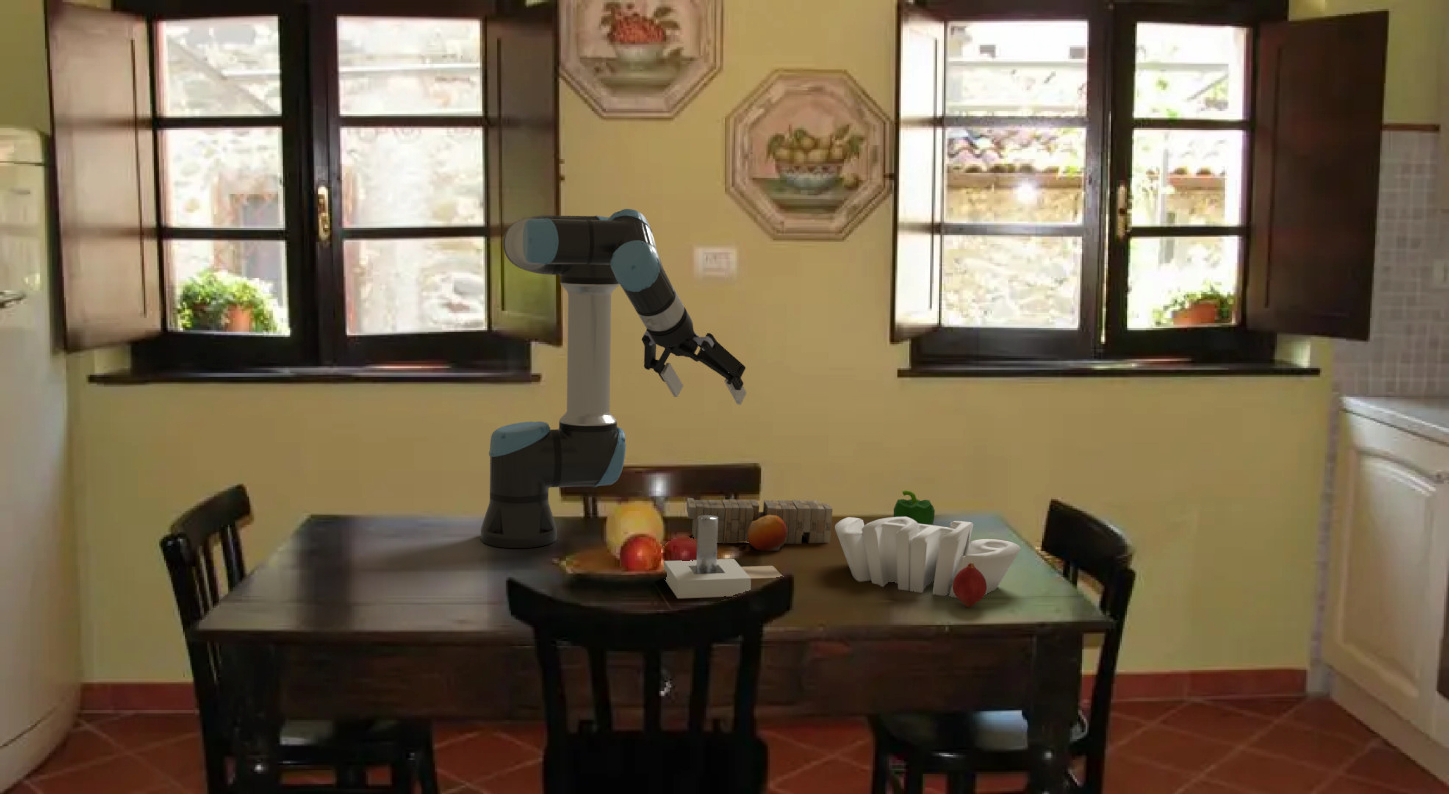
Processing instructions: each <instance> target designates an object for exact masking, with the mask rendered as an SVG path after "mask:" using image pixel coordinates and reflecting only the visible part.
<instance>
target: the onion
mask: <svg viewBox="0 0 1449 794" xmlns="http://www.w3.org/2000/svg"><path fill="white" fill-rule="evenodd" d="M986 589H987V584H986V580H985V578H984V576H983V575H982V573H981V572H980V571H979V570H978V569H976V568H975V566H974V564H973V563H969V564H968V566H967V567H965V568H964V569H962V570H960V571H959V572H958V573H957V575H956V576H955V578H954V581H953V592H954V594H955V596H956V597H957V599H958V600H959V601H960V602H961V603H962V604H963V605H964V606H965V607H967V608H973V606H974V605H976V604H977V603H978V602H980V601H981V600H982V599H983V598H984V596H985V593H986ZM956 597H955V598H956Z"/></svg>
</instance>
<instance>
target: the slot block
mask: <svg viewBox="0 0 1449 794" xmlns="http://www.w3.org/2000/svg"><path fill="white" fill-rule="evenodd" d="M692 560H693V561H692ZM663 561H664V562H663V570H664V569H665V571H666V572H667V577H666V580H665V582H666V583H667V585H668V587H669V588H670V589H671V591H672V593H673V594H674V596H675V597H676V598H677V599H694V598H695V599H697V598H699V599H701V598H722V597H723V598H725V597H724V596H726V597H734V596H733V595H735V594H738V593H743V592H745V591H749V590H751V589H752V587H751V586H752V579H751V578H750V576H749V575H748V574H747V573H746V572H745V571H744V570H743V569H742V568H741V567H742V566H741V565H740V564H739V563H738V562H737V561H736V560H735V559H734V558H720V559H718V558H717V572H716V573H715V574H696V565H697V559H690V561H682V560H663Z"/></svg>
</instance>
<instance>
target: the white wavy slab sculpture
mask: <svg viewBox="0 0 1449 794" xmlns="http://www.w3.org/2000/svg"><path fill="white" fill-rule="evenodd" d="M973 526H974V523H973V522H970V521H965V520H964V521H961V520H954V521H953V520H952V521H951V522H950V526H949V527H946V526H941V525H935V524H934V525H927V524H918V523H917V522H916V521H915V520H913V519H911V518H909V517H894V516H891V517H883V518H879V519H876V520H872V521H870V522H867V523H866V524H865V523H864V520H863V519H862V518H859V517H853V516H852V517H851V516H848V517H845V518H843V519H841V520H839V521H838V522H837V523H835V526H834V531H835V533H836V535H837V538H838V539H839V540H838V541H839V543H840V545H841V549H842V551H843V554H844V557H845V559H846V561H847V565H848V567H849V570H850V572H851V575H852V577H853V579H855V580H856V581H857V582H859V583H860V582H869V581H871V583H872V584H875V585H878V586H880V587H883V588H884V587H885V586H886V584H888V582H895V583H894V584H897V590H899V591H900V590H902V591H910V592H913V591H914V592H913V593H920V594H923V592H924V590H925V589H926V588H927V587H928V586H929V585H930V584H932V583H933V588H932V593H933V594H932V595H935V594H936V596H943V597H944V596H947V595H948V597H950V596H951V598H957V597H956V596H955V594H954V592H953V581H954V578H955V576H956V575H957V573H958V572H959V571H960V570H962V569H964V568H965V567H967V566H968V564H969V563H973V564H974V566H975V568H976V569H978V570H979V571H980V572H981V573H982V575H983V576H984V578H985V580H986V584H987V589H986V593H989V592H991V591H993V590H994V591H996V590H997V588H998V587H999V585H1000V583H1002V581H1003V578H1004V577H1005V575H1006V574H1007V572H1008V570H1009V568H1010V567H1011V566H1012V564H1013V563H1014V561H1015V559H1016V558H1017V556H1018V555H1019V552H1020V551H1021V549H1022V548H1021V547H1020V546H1019V544H1017V543H1015V542H1012V541H1007V540H1002V539H993V538H992V539H991V538H985V539H983V538H981V539H975V540H971V536H972V532H973V528H974V527H973ZM933 581H934V582H933ZM931 582H932V583H931ZM927 585H928V586H927ZM926 586H927V587H926ZM994 591H993V592H994ZM948 593H949V594H948ZM986 593H985V594H986ZM991 593H992V592H991ZM989 594H990V593H989ZM986 595H987V594H986ZM957 599H958V598H957Z"/></svg>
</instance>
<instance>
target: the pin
mask: <svg viewBox="0 0 1449 794" xmlns="http://www.w3.org/2000/svg"><path fill="white" fill-rule="evenodd" d="M717 537H718V517H716V516H712V515H702V516H698V528H697V543H696V560H697V565H696V574H715V573H716V572H717V559H718V544H717Z"/></svg>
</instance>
